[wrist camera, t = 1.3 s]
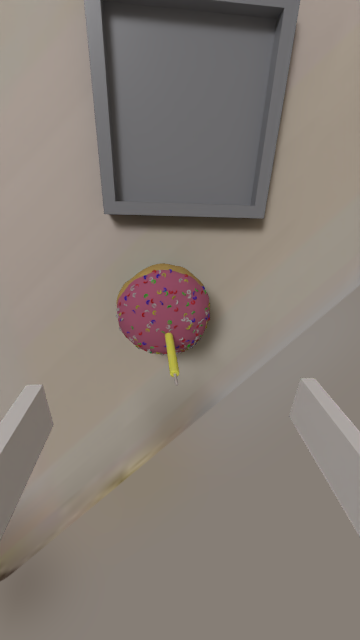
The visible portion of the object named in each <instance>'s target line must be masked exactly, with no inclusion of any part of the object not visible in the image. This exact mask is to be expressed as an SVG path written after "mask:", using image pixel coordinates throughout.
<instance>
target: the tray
mask: <svg viewBox="0 0 360 640" xmlns="http://www.w3.org/2000/svg"><path fill="white" fill-rule="evenodd" d="M84 5H85V16H86V26H87V37H88V48H89V58H90V69H91V80H92V90H93V101H94V111H95V122H96V133H97V143H98V154H99V164H100V175H101V186H102V196H103V207H104V214H123V215H159V216H195V217H231V218H264V214H265V208H266V202H267V196H268V190H269V184H270V178H271V172H272V166H273V160H274V154H275V148H276V142H277V137H278V131H279V125H280V119H281V113H282V107H283V101H284V95H285V89H286V83H287V77H288V71H289V65H290V59H291V53H292V47H293V41H294V35H295V29H296V23H297V17H298V11H299V5H300V0H84Z"/></svg>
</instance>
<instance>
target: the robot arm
mask: <svg viewBox="0 0 360 640" xmlns="http://www.w3.org/2000/svg"><path fill="white" fill-rule="evenodd" d="M289 417H290V419H291V421H292V422H293V424H294V426H295V427H296V429H297V431H298V432H299V434H300V436H301V438H302V439H303V441H304V442H305V444H306V446H307V448H308V450H309V451H310V453H311V454H312V456H313V458H314V460H315V462H316V463H317V465H318V467H319V468H320V470H321V472H322V474H323V475H324V477H325V479H326V480H327V482H328V484H329V486H330V487H331V489H332V491H333V492H334V494H335V496H336V497H337V499H338V501H339V503H340V504H341V506H342V508H343V509H344V511H345V513H346V514H347V516H348V518H349V520H350V521H351V523H352V525H353V526H354V528H355V530H356V532H357V533H358V535H359V537H360V431H359V430H358V429H357V428H356V427H355V426H354V424H353V423H352V422H351V421H350V420H349V418H347V416H346V415H345V414H344V413H343V412H342V410H341V409H340V408H339V407H338V405H337V404H336V403H335V402H334V401H333V399H331V397H330V396H329V395H328V394H327V392H326V391H325V390H324V389H323V388H322V387H321V385H320V384H319V383H318V382H317V381H316V379H315V378H301V379H300V383H299V386H298V389H297V392H296V395H295V399H294V402H293V405H292V408H291V411H290V415H289ZM52 427H53V421H52V417H51V413H50V410H49V406H48V402H47V399H46V395H45V391H44V387H43V385H26V386H25V388H24V389H23V390H22V392H21V393H20V395H19V396H18V398H17V399H16V401H15V402H14V403H13V405H12V406H11V408H10V409H9V411H8V412H7V413H6V415H5V416H4V418H3V419H2V421H1V422H0V540H1V538H2V536H3V534H4V532H5V530H6V527H7V525H8V523H9V521H10V519H11V516H12V514H13V512H14V510H15V508H16V506H17V503H18V501H19V499H20V497H21V495H22V492H23V490H24V488H25V486H26V484H27V482H28V479H29V477H30V475H31V473H32V471H33V468H34V466H35V464H36V462H37V460H38V458H39V455H40V453H41V451H42V449H43V447H44V444H45V442H46V440H47V438H48V436H49V434H50V431H51V429H52Z"/></svg>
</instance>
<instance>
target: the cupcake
mask: <svg viewBox="0 0 360 640" xmlns="http://www.w3.org/2000/svg"><path fill="white" fill-rule="evenodd" d="M117 316H118V317H117ZM116 317H117V318H118V321H119V326H120V327H119V329H120V330H121V331H122V332H123V333H124V335H125V336H126V338H128V339H129V340H130V341H131V342H132V343H133V344H134V345H136V347H138V349H140V348H141V349H143V350H145V351H148V352H149V353H155V354H161V355H162V354H163V355H165V354H166V355H167V354H168V362H169V369H170V375H171V376H172V377H174V380H175V384H176V385H178V380H177V376H178V375H179V368H178V363H177V357H176V355H177V354H178V352H179V353H182V352H184V351H185V350H188V348H189V347H190V348H193V345H196V342H197V341H200V340H201V337H202V335H203V333H204V331H205V328H207V323H208V320H210V303H209V297H208V294H207V292H206V291H205V288H204V286H203V284H202V283H201V282H200V281H199V280H198V279H197V278H196V277H195V276H194V275H193V274H192V273H190V272H189V271H188V270H187V269H185V268H183V267H180V266H174V265H170V264H156V265H152V266H150V267H148V268H146V269H144V270H142V271H140V272H139V273H138V274H136V275H135V276H134V277H133V278H132V279H131V280H129V281H127V282H126V283H125V284H124V285H123V287H122V289H121V290H120V292H119V295H118V298H117V315H116ZM199 339H200V340H199ZM194 343H195V344H194ZM176 353H177V354H176Z"/></svg>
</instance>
